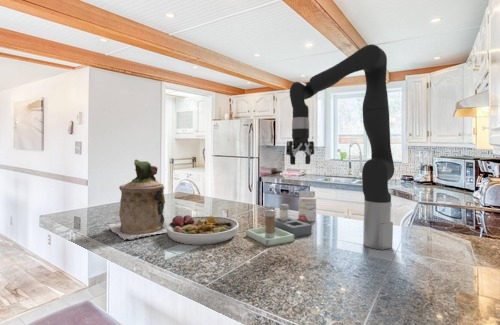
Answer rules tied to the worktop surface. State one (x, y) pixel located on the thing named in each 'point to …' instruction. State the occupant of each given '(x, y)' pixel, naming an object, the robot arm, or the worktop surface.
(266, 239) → the parts tray
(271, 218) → the cylinder
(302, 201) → the ink cartridge box
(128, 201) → the cookie jar
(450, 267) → the worktop surface
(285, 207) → the fuse
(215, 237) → the bowl
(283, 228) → the block
